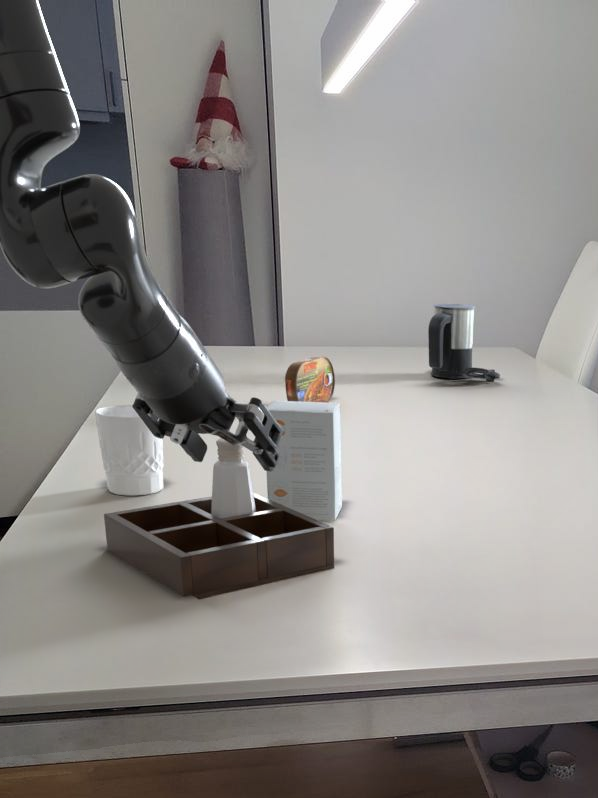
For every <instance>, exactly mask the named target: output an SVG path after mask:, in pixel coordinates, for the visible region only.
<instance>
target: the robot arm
mask: <svg viewBox="0 0 598 798" xmlns="http://www.w3.org/2000/svg"><path fill="white" fill-rule="evenodd" d="M48 31H49V30H48V28H47V25H46V22H45V19H44V16H43V12H42V10H41V6H40V3H39V0H0V249H1V252H2V254H3V256H4V258H5V260H6V262H7V263H8V265H9V266H10V268H11V269H12V270H13V271H14V272H15V274H16V275H17V276H18V277H20V279H22V280H23V281H25V283H27V284H29V285H30V286H32V287H35V288H38V289H41V290H42V289H44V290H46V289H53V288H58V287H61V286H66V285H68V284H72V283H75V282H77V281H81V280H84V279H87V280H86V281H85V282H84V284H83V285H82V286H81V289H80V291H79V294H78V299H77V300H78V302H77V303H78V308H79V309H78V310H79V312H80V314H81V316H82V319H83V320H84V322H85V323H86V324H87V327H88V328H90V330H91V331H92V333H94V335H95V336H96V338H97V339H98V340H99V342H101V344H102V345H103V346H104V347H105V349H106V350H107V351H108V352H109V354H110V356H112V358H113V360H114V361H115V364H116V365H117V367H118V368H119V370H120V372H121V373H122V374H123V376H124V377H125V378H126V380H127V381H128V382H129V383H130V385H131V386H132V387H133V388H134V390H135V391H136V392H137V394H136V395H135V396H136V397H135V399H134V400H133V404H132V405H133V406H132V407H133V408H134V410H135V411H136V413H137V414H138V415H139V417H140V418H141V419H142V421H143V422H144V423H145V425H146V426H147V427H148V429H149V430H150V431H151V433H152V434H153V435H154V436H155V437H157V438H160V439H163V440H164V438H165V437H168V438H169V440H170V441H171V442H172V443H174V444H177V445H179V446H180V447H181V448H182V449H183V451H184V452H185V453H186V454H187V455H188V456H189V457H190V458H191V459H192V460H193V462H197V463H202V462H203V461H204V458H205V456H206V454H207V451H208V445H207V442H205V441H204V439H203V438H202V437H201V435H212V436H216V437H219V439H221V438H222V439H224V440H225V441H227V442H229V443H230V444H232V445H234V446H238V445H242V446H243V447H244V449H247V450H249V451H251V452H252V455H253V456H254V458H255V459H256V461H257V462H258V463H259V465H260V466H261V467H262V469H263V470H264V471H266V472H267V471H273V469H274V467H276V464H277V461H278V459H279V453H278V451H277V450H276V449H277V446H278V444H279V441H280V438H281V436H282V433H283V430H282V429H281V427H280V426H279V424H278V423H277V422H276V420H275V419H274V417H273V416H272V415H271V413H270V412H269V410H268V409H267V406H266V405H265V403H264V402H263V400H262V399H259V398H258V397H254V396H253V397H251V398H250V400H249V402H248V404H247V403H238V402H237V401H236V400H235V399H234V398H233V397H232V396H231V395H229V393H227V391H226V388H225V382H224V377H223V374H222V372H221V370H220V369H219V367H218V366H217V364H216V362H215V361H214V359H213V358H212V357H211V355H210V354H209V353H208V350H207V349H206V347H205V346H204V345H203V343H202V342H201V340H200V338H199V337H198V335H197V334H196V333H195V331H194V330H193V328H192V327H191V325H190V324H189V323H188V322H187V321H186V319H184V317H183V316H182V315H181V314H180V313H179V312H178V311H177V309H176V307H175V306H174V304H173V303H172V302H171V300H170V299H169V297H168V295H167V294H166V292H165V291H164V290H163V288H162V287H161V285H160V284H159V281H158V280H157V278H156V275H155V273H154V271H153V268H152V265H151V263H150V260H149V258H148V255H147V252H146V249H145V246H144V241H143V238H142V237H143V236H142V233H141V230H140V226H139V221H138V218H137V214H136V211H135V208H134V206H133V205H134V204H133V203H132V201H131V199H130V198H129V196H128V194H127V193H126V192H125V190H124V189H123V188H122V187H121V186H120V185H119V184H117V183H116V182H115V181H113V180H112V179H110V178H108V177H106V176H103V175H101V174H96V173H87V174H83V175H79V176H75V177H72V178H69V179H67V180H62V181H59V182H56V183H53V184H51V185H47V186H45V187H42V178H43V172H44V169H45V167H46V165H47V164H48V163H49V162H50V161H51V160H53V159H54V158H55V157H56V156H59V154H62V153H63V152H64V151H66V150H67V149H69V148H70V147H71V146H73V145H74V144H75V142H77V140H78V139H79V137H80V132H81V125H80V121H79V117H78V113H77V110H76V108H75V104H74V102H73V99H72V97H71V93H70V90H69V88H68V85H67V81H66V79H65V76H64V74H63V71H62V67H61V65H60V62H59V59H58V56H57V54H56V51H55V48H54V45H53V43H52V40H51V36H50V35H49V32H48ZM236 418H237V420H238V424H237V426H236V427H237V428H236V430H235V433H233V432H231V431H230V430H231V428H232V426H233V423H234V421H235V420H236ZM158 419H159V420H158ZM249 431H250V432H251V434H252V435H253V436H254V440H252V439H250V438H249V437H248V435H247V434H248V432H249Z"/></svg>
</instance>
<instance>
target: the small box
mask: <svg viewBox="0 0 598 798" xmlns="http://www.w3.org/2000/svg"><path fill="white" fill-rule="evenodd" d="M340 406H341V405H340V402H328V403H323V402H295V401H288V400H274V401H272V402H271V403H269V405H268V406H266V408H267V409H268V410H269V412H270V413H271V415H272V416H273V417H274V419H275V420H276V422H277V423H278V424H279V426H280V427H281V429H282V430H283V433H282V436H281V438H280V441H279V444H278V446H277V449H276V450H277V451H278V453H279V459H278V461H277V464H276V467H274V469H273V471H266V489H267V490H266V491H267V492H266V493H267V499H269V500H272V501H274V502H276V503H279V504H281V505H283V506H286V507H288V508H290V509H293V510H295V511H297V512H299V513H302V514H304V515H306V516H309V517H311V518H313V519H316V520H318V521H321V522H335V521H336V519H337V517H338V515H339V513H340V511H341V509H342V506H343V491H342V490H343V487H342V485H343V483H342V482H343V481H342V443H341V442H342V441H341V440H342V439H341V409H340V408H341V407H340Z"/></svg>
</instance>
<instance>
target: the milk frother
mask: <svg viewBox="0 0 598 798" xmlns="http://www.w3.org/2000/svg"><path fill="white" fill-rule="evenodd" d="M432 306H433V308H434V314H433V316H432V317H431V318H430V320H429V323H428V328H427V329H428V332H427V333H428V334H427V335H428V366H429V367H430V368H431V372H430V375H431V376H434V377H437V378H444V379H452V380H453V379H468V378H476V379H481V380H482V379H483V380H485V382H487V383H493V382H495V380H499V379H500V378H501V374H500V372H497V371H496V370H495V369H487V368H482V367H473V342H474V341H473V340H474V321H475V320H474V318H475V309H476V307H477V306H474V305H469V304H459V303H434V304H433V305H432Z"/></svg>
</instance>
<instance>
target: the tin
mask: <svg viewBox="0 0 598 798" xmlns="http://www.w3.org/2000/svg"><path fill="white" fill-rule="evenodd" d="M284 375H285V376H284V383H285V395H286V399H287V400H286V401H295V402H323V403H330V401H331V400H332V398H333V396H334V393H335V384H336V378H335V377H336V375H335V370H334V367H333V363H332V362H331V360H330V359H329V358H328V357H327V356H313V357H309V358H305V359H302V360H299V361H296V362H292V363H291V364H290V365H289V366H288V368H287V369H286V372H285V374H284Z"/></svg>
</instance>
